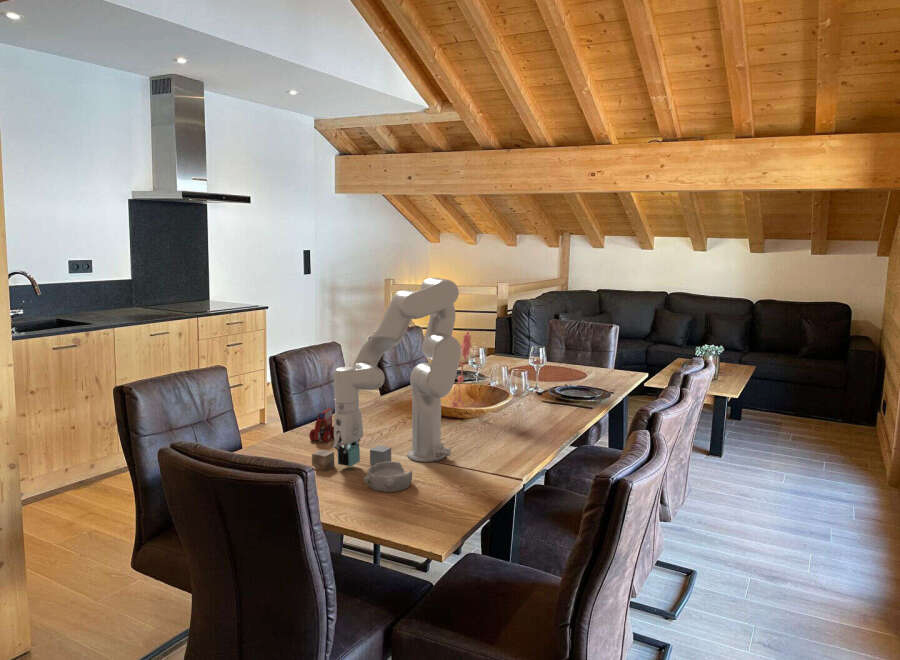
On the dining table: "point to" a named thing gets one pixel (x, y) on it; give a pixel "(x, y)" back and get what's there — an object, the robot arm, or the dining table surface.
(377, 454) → the slate grey block
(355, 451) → the teal block
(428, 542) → the dining table surface
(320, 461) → the walnut block
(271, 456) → the dining table surface
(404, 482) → the dish
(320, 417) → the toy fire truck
